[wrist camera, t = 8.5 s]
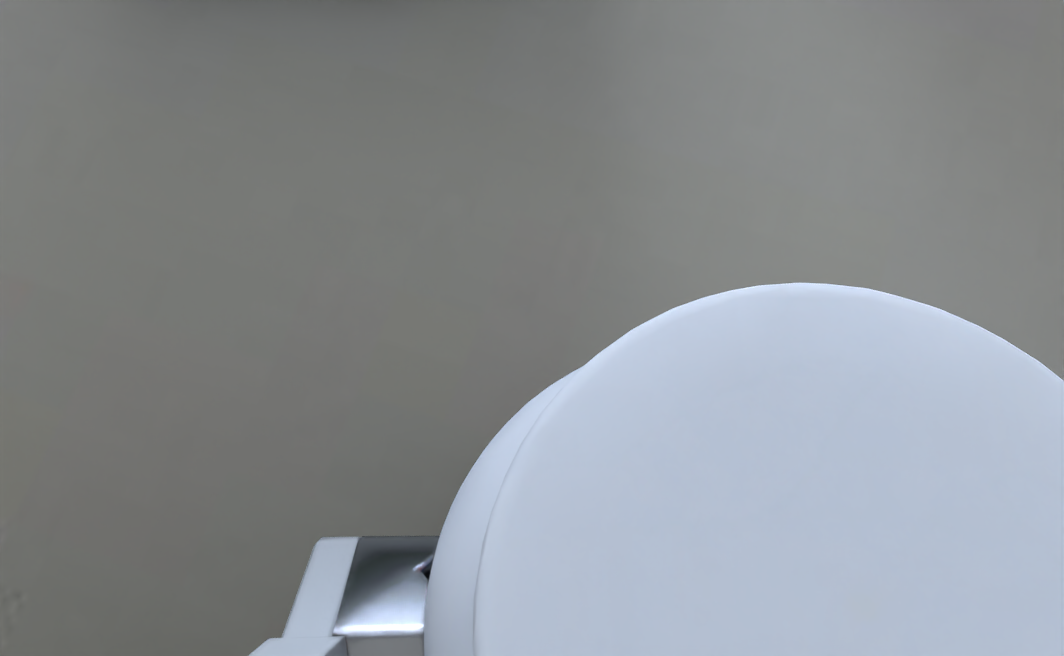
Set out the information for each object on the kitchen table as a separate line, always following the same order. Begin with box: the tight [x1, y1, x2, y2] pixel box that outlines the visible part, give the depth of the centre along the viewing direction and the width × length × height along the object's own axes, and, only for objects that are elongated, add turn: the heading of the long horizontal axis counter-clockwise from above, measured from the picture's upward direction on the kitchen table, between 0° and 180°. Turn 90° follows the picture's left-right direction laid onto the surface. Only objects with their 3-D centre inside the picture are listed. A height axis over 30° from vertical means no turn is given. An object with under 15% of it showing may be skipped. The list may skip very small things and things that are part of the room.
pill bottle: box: [424, 283, 1064, 656], centre depth 10 cm, size 6×6×11 cm
